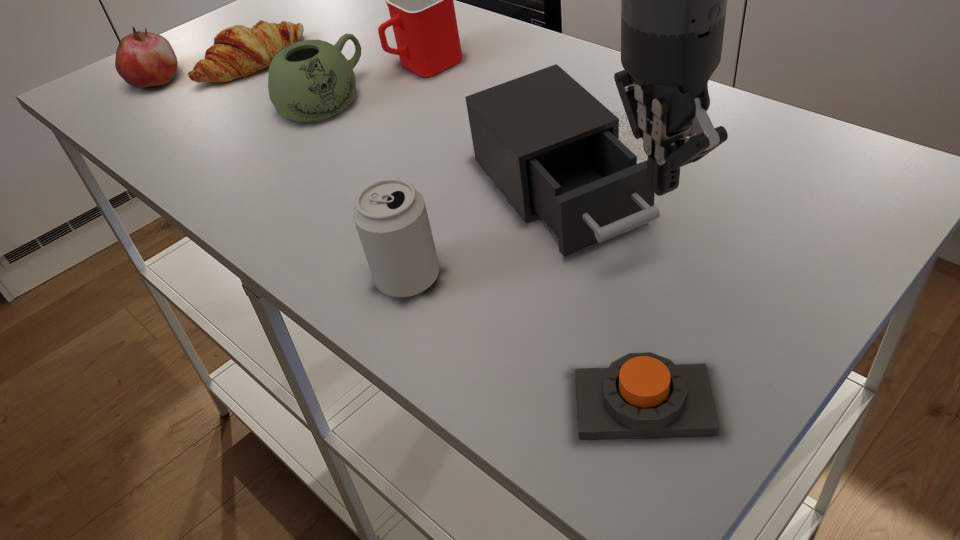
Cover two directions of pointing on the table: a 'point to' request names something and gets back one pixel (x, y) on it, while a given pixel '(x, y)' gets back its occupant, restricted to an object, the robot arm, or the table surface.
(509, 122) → the black drawer cabinet
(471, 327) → the table surface
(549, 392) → the table surface
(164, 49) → the fruit
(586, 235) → the small dark drawer
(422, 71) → the mug
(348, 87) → the mug
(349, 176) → the table surface
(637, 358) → the button
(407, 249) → the can
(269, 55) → the croissant
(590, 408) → the control block
